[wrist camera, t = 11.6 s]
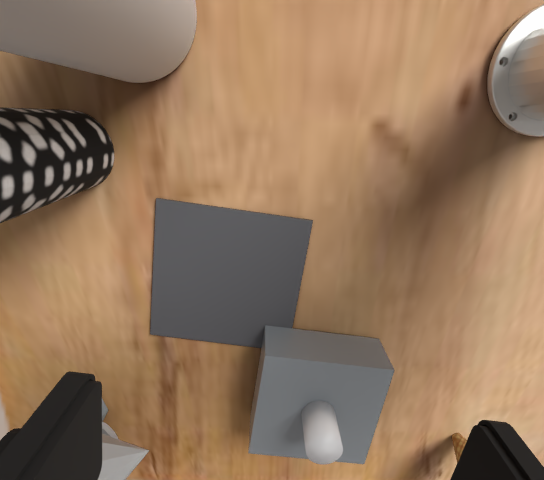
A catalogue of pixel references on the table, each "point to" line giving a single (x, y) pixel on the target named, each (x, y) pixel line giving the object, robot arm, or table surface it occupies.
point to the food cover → (318, 395)
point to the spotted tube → (49, 157)
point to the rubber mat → (225, 272)
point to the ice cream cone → (458, 444)
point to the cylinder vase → (101, 34)
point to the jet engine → (117, 454)
